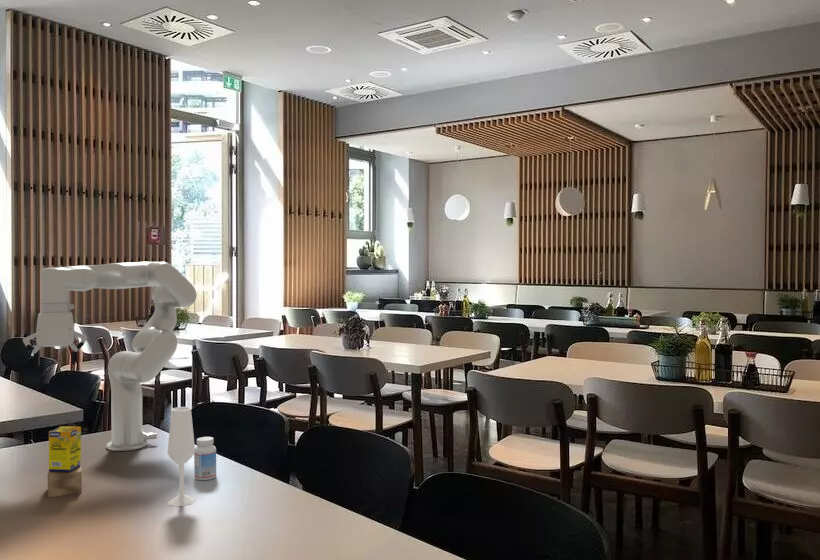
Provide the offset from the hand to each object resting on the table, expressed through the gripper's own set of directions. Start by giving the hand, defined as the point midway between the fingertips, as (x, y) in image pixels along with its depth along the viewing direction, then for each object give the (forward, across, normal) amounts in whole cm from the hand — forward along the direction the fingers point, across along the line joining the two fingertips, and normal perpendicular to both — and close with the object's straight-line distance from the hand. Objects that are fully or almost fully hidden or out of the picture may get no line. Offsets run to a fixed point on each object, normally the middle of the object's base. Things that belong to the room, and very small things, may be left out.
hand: (55, 365), depth 208 cm
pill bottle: (+31, -40, +30) cm, 58 cm away
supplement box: (+25, -4, +27) cm, 37 cm away
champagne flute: (+30, -32, +48) cm, 65 cm away
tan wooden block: (+31, -4, +27) cm, 41 cm away
